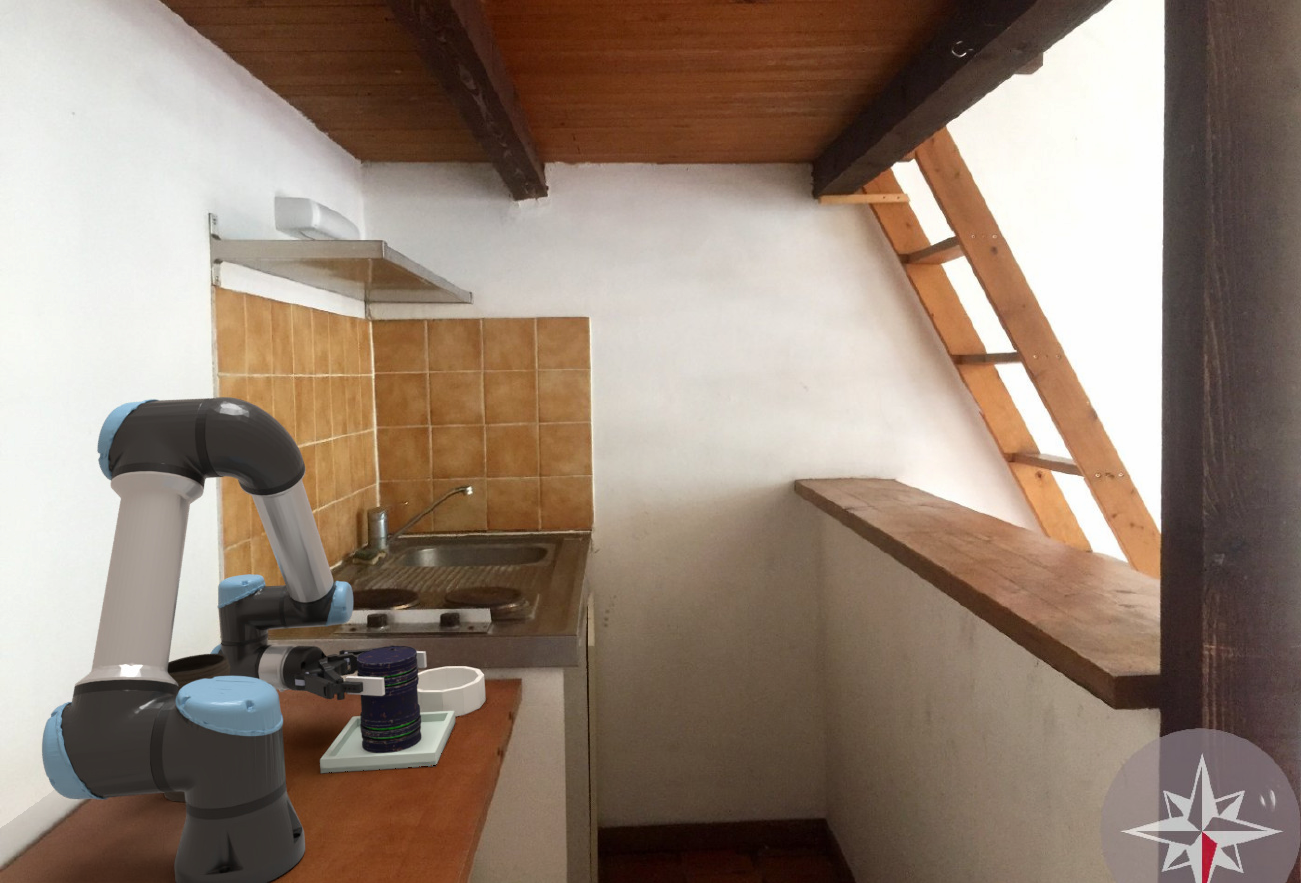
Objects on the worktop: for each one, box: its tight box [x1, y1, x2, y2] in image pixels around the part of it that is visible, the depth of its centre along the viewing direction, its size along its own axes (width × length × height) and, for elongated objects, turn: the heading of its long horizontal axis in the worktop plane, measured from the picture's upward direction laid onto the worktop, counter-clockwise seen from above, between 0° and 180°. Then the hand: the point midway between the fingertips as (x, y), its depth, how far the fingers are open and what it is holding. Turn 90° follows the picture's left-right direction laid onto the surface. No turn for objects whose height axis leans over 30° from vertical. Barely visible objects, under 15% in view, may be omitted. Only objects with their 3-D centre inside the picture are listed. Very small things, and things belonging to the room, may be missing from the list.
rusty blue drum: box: [356, 645, 421, 753], centre depth 147 cm, size 10×10×15 cm
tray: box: [319, 711, 456, 774], centre depth 147 cm, size 18×18×2 cm
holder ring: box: [417, 665, 487, 718], centre depth 166 cm, size 14×14×5 cm
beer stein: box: [163, 653, 230, 803], centre depth 135 cm, size 15×11×20 cm
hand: (405, 672), depth 146 cm, fingers open, 13 cm apart
